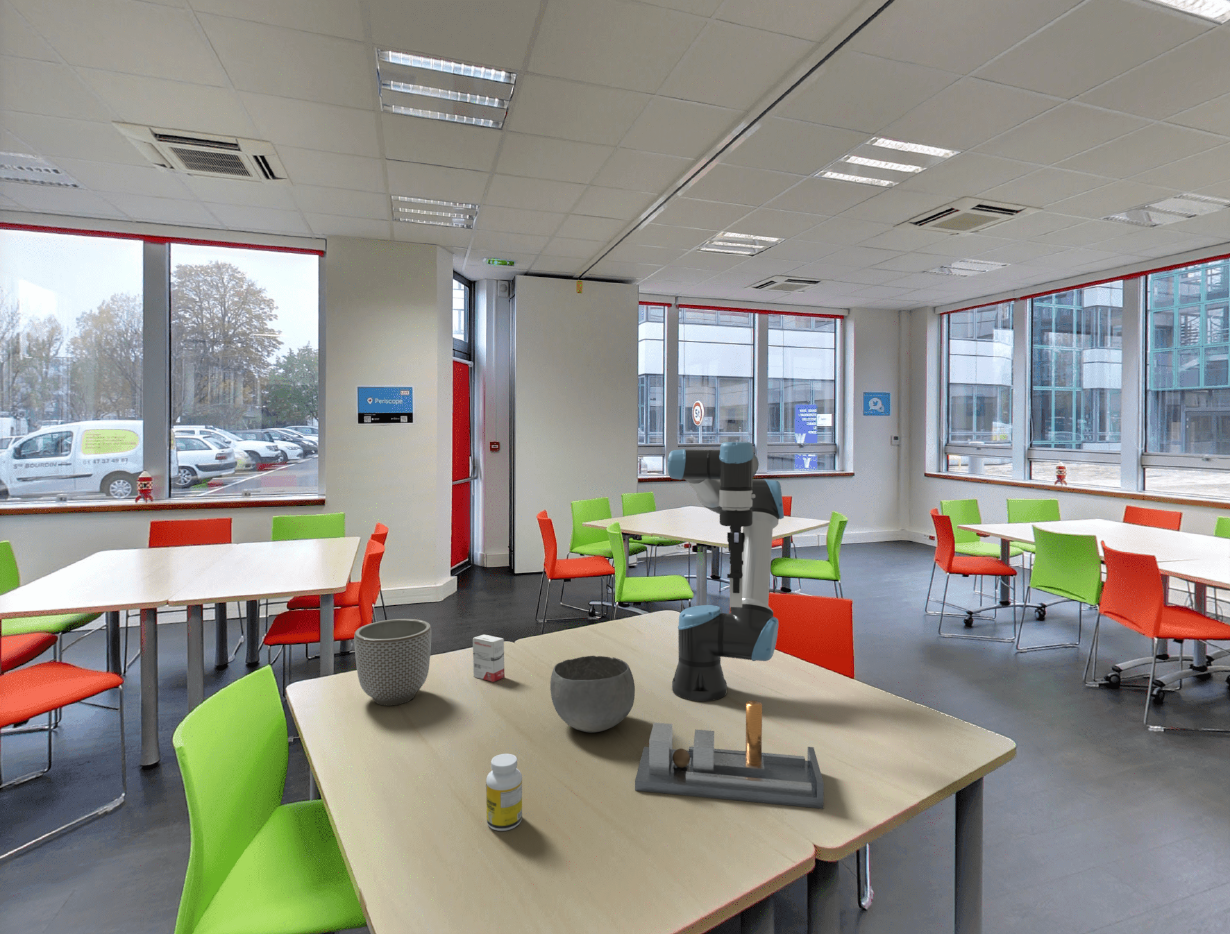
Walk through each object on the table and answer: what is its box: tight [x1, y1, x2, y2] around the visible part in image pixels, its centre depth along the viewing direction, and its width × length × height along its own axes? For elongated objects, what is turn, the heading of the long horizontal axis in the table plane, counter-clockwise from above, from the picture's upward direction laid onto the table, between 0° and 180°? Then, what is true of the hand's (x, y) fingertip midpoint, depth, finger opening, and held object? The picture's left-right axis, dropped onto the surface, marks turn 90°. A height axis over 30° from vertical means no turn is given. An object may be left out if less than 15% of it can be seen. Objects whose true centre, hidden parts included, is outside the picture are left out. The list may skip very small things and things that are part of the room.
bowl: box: [549, 655, 636, 734], centre depth 152 cm, size 20×20×15 cm
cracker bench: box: [634, 722, 825, 810], centre depth 128 cm, size 36×14×9 cm, turn 80°
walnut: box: [673, 748, 690, 768], centre depth 129 cm, size 4×4×4 cm
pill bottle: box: [485, 753, 523, 832], centre depth 114 cm, size 6×6×12 cm
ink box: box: [472, 634, 505, 683], centre depth 184 cm, size 9×5×12 cm, turn 58°
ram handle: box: [692, 700, 764, 779], centre depth 128 cm, size 14×8×14 cm, turn 80°
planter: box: [353, 618, 432, 706], centre depth 169 cm, size 20×20×19 cm
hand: (735, 599), depth 145 cm, fingers open, 13 cm apart
